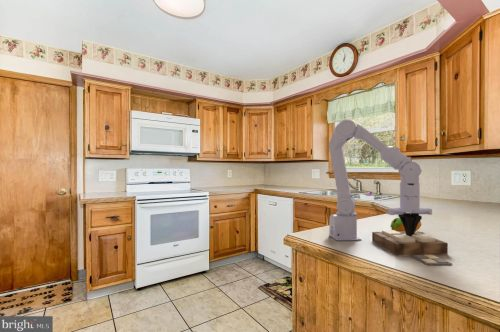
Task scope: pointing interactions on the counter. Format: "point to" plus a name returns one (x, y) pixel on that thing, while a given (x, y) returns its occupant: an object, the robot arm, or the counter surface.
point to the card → (430, 260)
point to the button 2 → (403, 238)
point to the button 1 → (390, 233)
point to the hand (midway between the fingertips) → (409, 235)
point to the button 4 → (423, 238)
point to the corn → (401, 225)
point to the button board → (410, 245)
